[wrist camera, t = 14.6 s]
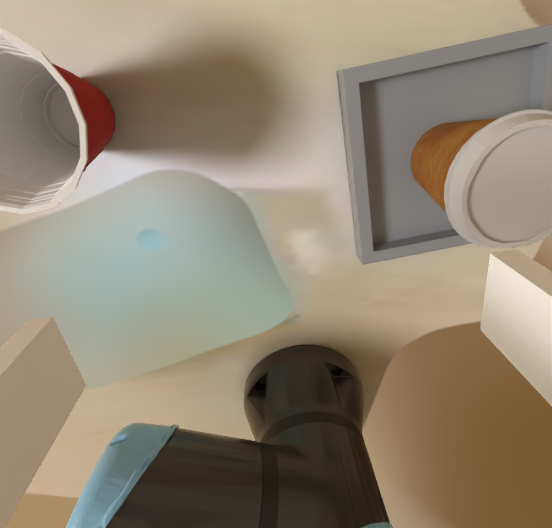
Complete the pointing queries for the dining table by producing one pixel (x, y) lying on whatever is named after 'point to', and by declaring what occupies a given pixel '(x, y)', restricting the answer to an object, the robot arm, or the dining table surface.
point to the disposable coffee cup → (491, 176)
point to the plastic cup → (45, 128)
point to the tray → (418, 120)
